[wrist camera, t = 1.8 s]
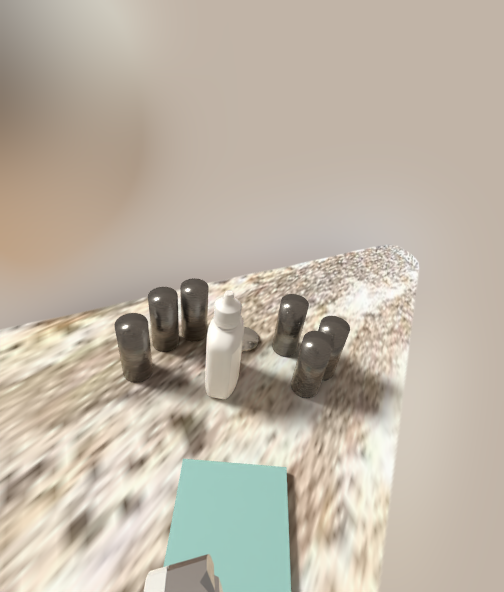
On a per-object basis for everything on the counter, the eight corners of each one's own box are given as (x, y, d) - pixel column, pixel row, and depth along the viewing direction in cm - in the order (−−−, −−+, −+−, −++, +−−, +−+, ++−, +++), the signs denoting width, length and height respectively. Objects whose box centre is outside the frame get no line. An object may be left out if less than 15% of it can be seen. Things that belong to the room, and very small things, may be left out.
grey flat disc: (232, 355, 43) (233, 351, 43) (225, 334, 46) (225, 329, 45) (261, 350, 44) (262, 346, 44) (252, 329, 47) (253, 324, 46)
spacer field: (119, 381, 38) (110, 333, 34) (143, 318, 46) (138, 272, 41) (338, 400, 39) (356, 357, 35) (327, 336, 47) (341, 293, 42)
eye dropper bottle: (253, 374, 41) (267, 289, 33) (219, 407, 37) (226, 320, 30) (224, 353, 43) (231, 269, 35) (188, 383, 39) (188, 296, 32)
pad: (160, 591, 26) (159, 588, 25) (183, 463, 33) (183, 458, 32) (289, 600, 26) (291, 597, 25) (284, 471, 33) (286, 467, 32)
